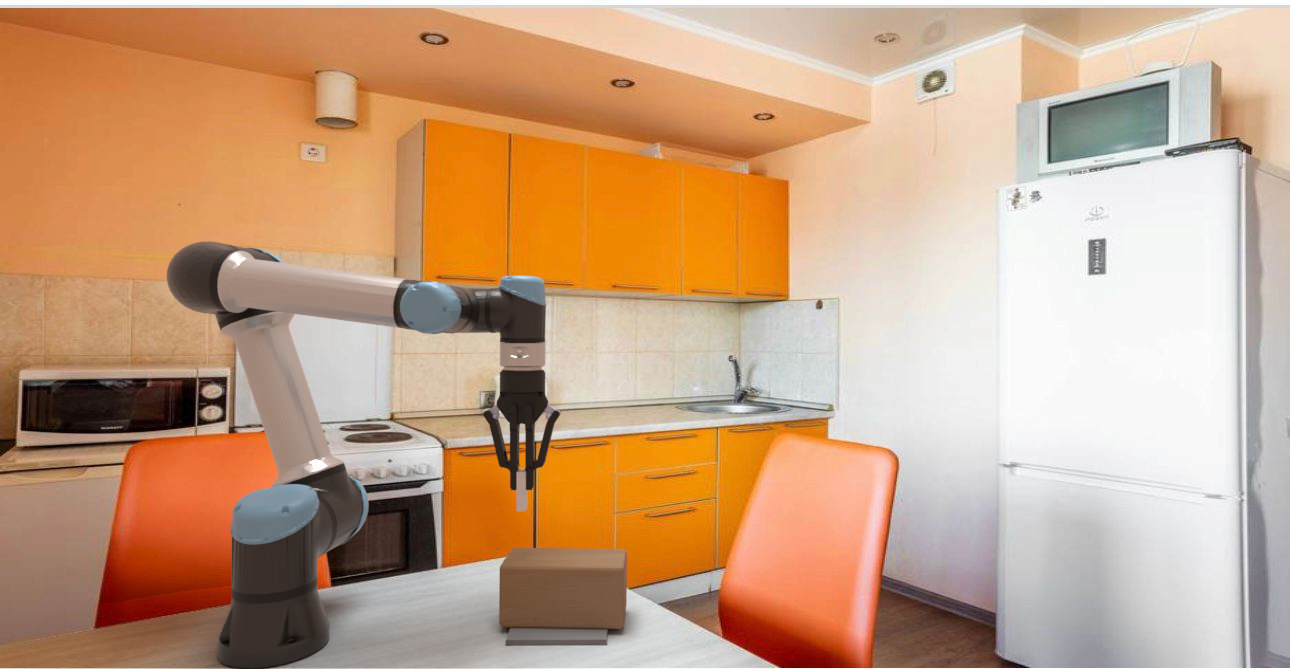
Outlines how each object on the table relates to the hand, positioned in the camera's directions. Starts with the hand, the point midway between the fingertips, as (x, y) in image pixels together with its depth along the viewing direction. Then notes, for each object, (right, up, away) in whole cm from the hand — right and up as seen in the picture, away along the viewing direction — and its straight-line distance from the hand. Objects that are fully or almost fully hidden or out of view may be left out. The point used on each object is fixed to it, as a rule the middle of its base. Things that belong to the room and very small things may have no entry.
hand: (522, 509), depth 120 cm
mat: (+7, -19, 0) cm, 20 cm away
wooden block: (-3, -13, -1) cm, 13 cm away
